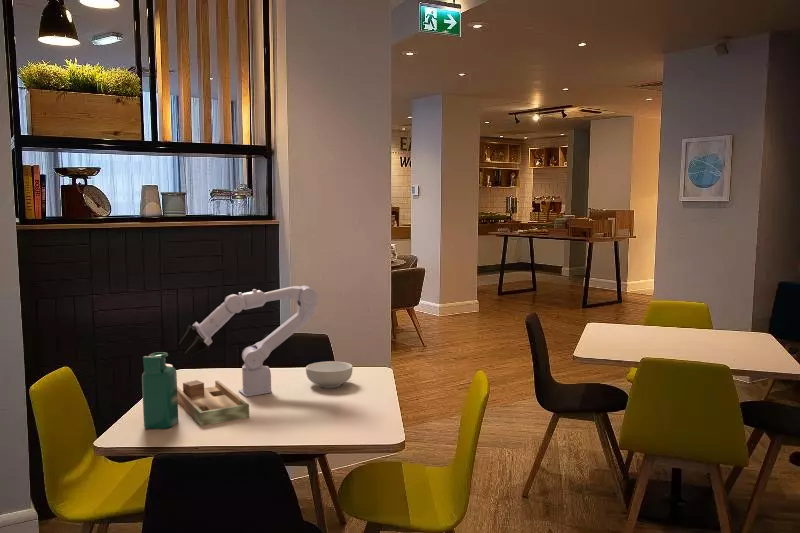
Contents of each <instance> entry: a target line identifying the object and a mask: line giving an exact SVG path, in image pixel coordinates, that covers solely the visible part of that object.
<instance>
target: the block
mask: <svg viewBox="0 0 800 533" xmlns="http://www.w3.org/2000/svg"><path fill="white" fill-rule="evenodd" d="M204 388H205V382H203V381H199V380H197V379H195V380H191V381H186V382H182V391H183V393H184V394H185V395H186V396H188V397H190V398H191V397H196V396H200V395H204Z"/></svg>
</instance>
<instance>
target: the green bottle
mask: <svg viewBox="0 0 800 533" xmlns="http://www.w3.org/2000/svg"><path fill="white" fill-rule="evenodd" d="M168 356H169V354H168V352H164V351H161V352H160V351H159V352H153V353H150V354H148V356H147V355H144V356H143V357H142V363H143V373H142V374H141V384H142V385H141V386H142V387H141V390H142V409H143V412H142V413H143V427H144V428H145V429H148V430H149V429H153V430H154V429H155V430H157V429H158V430H160V429H161V430H163V429H166V428H167V429H170V428H172V427H173V426H174V425H176V423H177V422H179V405H178V404H179V402H178V397H177V387H178V378H177V377H178V376H177V374H178V373H177V369H176V368H175V367H174V366H173V367H169V366H166V364H167V363H166V357H168Z"/></svg>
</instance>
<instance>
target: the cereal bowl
mask: <svg viewBox="0 0 800 533" xmlns="http://www.w3.org/2000/svg"><path fill="white" fill-rule="evenodd" d="M353 368H354V367H353V365H352V364H351V363H349V362H344V361H335V360H332V361H331V360H329V361H327V360H326V361H320V362H319V361H318V362H313V363H309V364H308V365H306V366H305V374H306V376H307V378H308V380H309V381H310V382H312V384H315V385H318V386H319V387H320V388H324V389H325V388H326V389H327V388H328V389H331V388H336V387H340V386H341V385H342V384H344V383H347V382H348V381H349V380H350V378H351V377H352V375H353Z"/></svg>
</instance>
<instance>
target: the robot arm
mask: <svg viewBox="0 0 800 533" xmlns="http://www.w3.org/2000/svg"><path fill="white" fill-rule="evenodd" d="M318 297H319V296H318V292H317V291H316V290H315V289H314V288H311V286H308V285H306V284H305V285H304V284H303V285H302V284H301V285H300V286H299V285H294V286H288V287H283V288H279V289H275V290H274V289H273V290H270V291H267V292H264V291H262V290H260V289H258V290H257V289H256V288H253V289H252V291H247V292H243V293H242V291H241V292H238V294H234V293H232V294H230V295H227V296H225V298H224V301H223V302H222V303H221V304H220V305H218V306H217V307H216V308H215V309H214V310H213V311H212V312H211V313H210V314H209V315H208V316H206V318H204V319H203V320H202V322H200V323H199V322H197V321H195V322H194V323H193V324H192V326H191V325H187V328H186V331H185V333H184V335H183V336H182V338H181V339H180V341H179V343H178V345H179V346H180V347H181V348H182V349H184V348H187V346H189V344H191V345H190V346H189V347H188V348H187V349H186V350H185V352H184V355H185V356H186V357H188V358H191V357H193V356H195V355H196V354H198V353H200V352H202V351H205V350H209V349H210V345H211V344H212V343H213V340H212V337H213V336H214V334H215V333H217V332H218V331H219V330H220V329H221V328H222V327H223V326H224V325H225V324H226V323H227V322H228V321H229V320H230V319H231V318H232V317H233V316H234V315H235V314H240V313H241V312H242V310H250V309H254V308H255V309H256V308H260V307H263V306H264V305H265V304H266V303H268V302H273V301H280V300H285V299H290V300H293V301H295V302H296V304H297V306H296V312H295V313H294V314H293V315H292V316H291V317H289V318H288V319H287V320H285V321H284V322H283V323H281V325H280V326H278V327H276V329H274V330H273V331H272V332H271V333H270V334H269V335H267V336H266V337H265V338H263V339H262V340H261V341H258V342H255V344H253V345H249V346H247V347H245V348H244V349H242V353H241V358H242V360H243V362H244V363H243V365H242V366H241V367H242V368H241V372H242V379H241V380H242V389H239V390H238V392H239V393H240V394H242V395H244V396H245V397H253V396H259V395H265V394H271V393H273V391H272V374H271V368H270V366H268V365H263V364H264V361H265V360H267V358H268V357H269V356H270V354H271V352H272V351H274V350H275V349H276V348H277V347H279V346H280V345H281V344H282V343H284V342H285V341H286V340H287V339H288V338H289V337H291V336H292V335H293V334H295V333H296V332H297V331H299V330H300V329H301V328H303V326H304V325H306V324H307V323H309V321H311V319H312V317H313V315H314V313H315V312H314V311H315V310H316V307H317V306H318V304H319V298H318Z"/></svg>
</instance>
